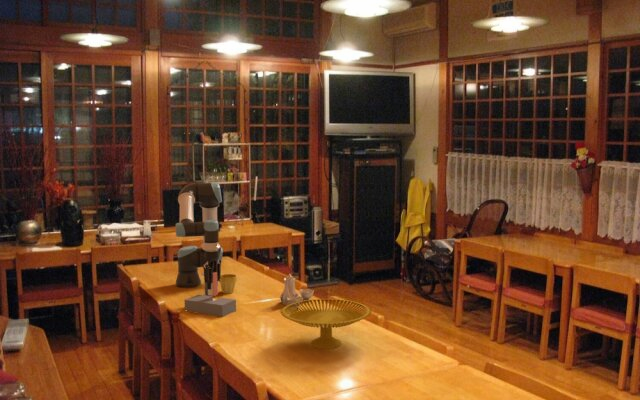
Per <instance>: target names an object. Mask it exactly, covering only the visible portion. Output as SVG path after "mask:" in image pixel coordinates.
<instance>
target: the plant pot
mask: <svg viewBox="0 0 640 400" xmlns="http://www.w3.org/2000/svg"><path fill="white" fill-rule="evenodd" d="M237 281H238V276H237V274H234V273H224V274H221V278H220V281H218V283H219V284H220V289H221V292H222V294H227V295H228V294H232V293H234V292H235V287H236V283H237Z"/></svg>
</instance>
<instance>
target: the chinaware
mask: <svg viewBox="0 0 640 400" xmlns="http://www.w3.org/2000/svg"><path fill="white" fill-rule="evenodd" d="M283 281H284V287H283V291H282V293H281V294H280V296H279V299H280V301H281V302H282V305H285V306H286V305H289V304H291V303H294V302H298V304H299V305H300V303H299V302H300V301H304V300H311V298H312V297H313V295H314V292H315V289H311V288H305V289H304V288H302V289H299V290H298V292H297V290H296V285H295V282H296V278H295V277H293V276H292V275H291V274H290V273H289V274H288V275H287V276H286V277H284V278H283ZM298 293H299V294H298ZM301 303H302V304H303V302H301ZM295 304H296V303H295ZM292 305H293V304H292ZM290 306H291V305H290ZM293 306H294V305H293ZM296 306H297V307H298V308H300V307H299V306H298V305H297V304H296ZM300 306H301V305H300ZM291 307H292V306H291ZM294 307H295V306H294ZM289 308H290V307H289ZM292 308H293V307H292ZM295 308H296V307H295ZM290 309H291V308H290ZM293 309H294V308H293ZM296 309H297V308H296ZM296 309H294V310H296Z"/></svg>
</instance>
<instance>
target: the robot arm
mask: <svg viewBox="0 0 640 400" xmlns="http://www.w3.org/2000/svg"><path fill="white" fill-rule="evenodd" d="M177 202H178V204H179V222H176V223H175V236H176V237H178V238H190V237H192V238H193V237H202V244H201V245H200V248H198V246H197V245H188V246H184V247H180V248H179V249H178V250H177V271H178V272H177V276H176V280H175V287H177V288H183V289H184V288H196V287H200V286H202V280H201V276H200V274H199V268H202V269H203V272H204V276H203V279H204V283H205V282H206V283H207V286H208V287H207V288H208V295H213V283H212V272H217V286H218V287H219V281H220V278H221V275H222V274H221V271H222V267H221V266H222V261H223V253H224V252H223V247H221V244H220V243H219V242H220V240H219V236H220V235H219V231H220V229H219V228H220V227H219V226H220V225H219V221H218V207H220V204H221V203H222V202H223V199H222V191H221V186H220V183H218V182H192V183H188V184H187V185H185V186H184V187H183V188H182V189H181V190H180V191H179V193H178V196H177ZM194 204H199V207H200V208H201V209H202V211H201V212H202V221H197V222H194V221H195V218H194Z"/></svg>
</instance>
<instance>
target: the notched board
mask: <svg viewBox="0 0 640 400" xmlns="http://www.w3.org/2000/svg"><path fill="white" fill-rule="evenodd" d="M213 299H214V296H206V295H205V294H196V295H194V296H192V297H191V296H190V297H188V298H185V299H184V311H185V310H187V311H186V312H188V311H191V312H190V313H194V312H196V313H195V314H201V315H206V316H207V315H208V316H215V317H219V318H221V317H225V316H229V315H230V314H232V313H235V312H236V311H237V300H236V299H235V298H228V297H227V298H226V297H220V298H216V300H214V301H213Z"/></svg>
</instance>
